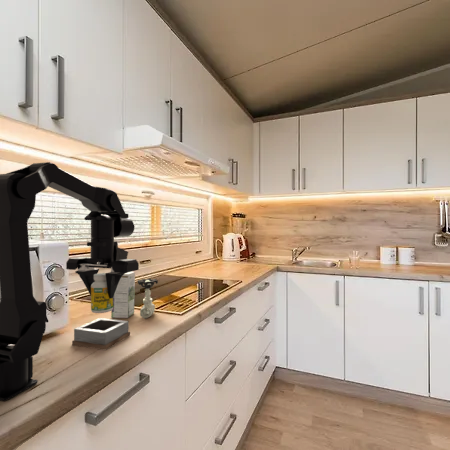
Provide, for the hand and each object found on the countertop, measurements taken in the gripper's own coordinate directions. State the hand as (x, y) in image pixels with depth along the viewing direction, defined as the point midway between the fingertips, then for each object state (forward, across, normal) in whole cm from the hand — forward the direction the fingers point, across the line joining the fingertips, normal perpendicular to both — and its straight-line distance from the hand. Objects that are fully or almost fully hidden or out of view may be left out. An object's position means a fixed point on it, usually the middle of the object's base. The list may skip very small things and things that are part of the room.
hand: (102, 297), depth 80 cm
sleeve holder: (+11, 0, 0) cm, 11 cm away
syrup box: (+11, +8, -20) cm, 25 cm away
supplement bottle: (+4, 0, 0) cm, 4 cm away
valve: (+12, 0, -22) cm, 25 cm away
